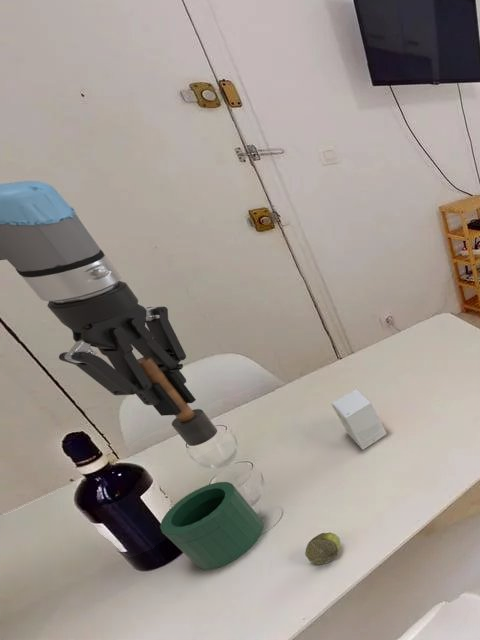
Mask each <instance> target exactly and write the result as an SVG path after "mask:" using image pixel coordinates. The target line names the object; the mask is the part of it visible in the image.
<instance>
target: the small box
mask: <svg viewBox="0 0 480 640" xmlns="http://www.w3.org/2000/svg"><path fill="white" fill-rule="evenodd" d="M330 405H331V406H332V408H333V410H334V411H335V413H336V415H337V417H338V419H339V420H340V422H341V424H342V426H343V427H344V429H345V431H346V433H347V435H348V436H349V437H350V438H351V439H352V441H354V442H355V443H356V445H358V447H359V448H360V450H363V451H364V450H365V449H366V448H368V447H370V446H371V445H373V444H374V443H376V442H378V441H379V440H381V439H382V438H383V437H385V436H386V435H387V434H388V433H387V431H386V429H385V427H384V425H383V423H382V421H381V419H380V416H379V414H378V413H377V411H376V409H375V407H374V404H373V403H372V401H370V399H368V398H367V397H366V396H365V395H364V394H363V393H362V392H361V391H360V390H358V389H354V390H352V391H350V392H349V393H347V394H344V395H343V396H342V397H340V398H338V399H336V400H334V401H332V402H331V404H330Z"/></svg>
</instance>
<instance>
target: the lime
mask: <svg viewBox="0 0 480 640" xmlns="http://www.w3.org/2000/svg"><path fill="white" fill-rule="evenodd" d="M340 549H341V539H340V537H339V536H338V535H337V534H336V533H334V532H333V533H332V532H321V533H320V534H317V535H316V536H314V537H313V538H312V539H311V540H309V542H308V543H307V545H306V548H305V551H304V554H305V557H306V558H307V559H308V561H309V562H311V563H312V564H316V565H323V564H326V563H330V561H332V560H333V559H334V558H336V557H337V556H338V554H339V552H340Z"/></svg>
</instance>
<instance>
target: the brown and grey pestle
mask: <svg viewBox="0 0 480 640" xmlns="http://www.w3.org/2000/svg"><path fill="white" fill-rule="evenodd" d="M136 359H137V358H136ZM137 361H138V362H139V364H140V365H141V367H142V369H143V370H144V372H145V373H146V375H147V377H148V378H149V380H150V382H151V383H160V385H161V386H162V387H163V388H164V390H165V391H166V392H167V394H168V395H169V396H170V397H171V399H172V400H173V401H174V402H175V404H176V405H177V406H178V407H179V409H180V410H181V411H182V412H181V413H179V414H178V415H174V417H175V418H174V419H173V420H172V421H171V426H172V427H173V429H174V431H176V432H177V434H178V435H179V436H180V437H181V438H182V440H183V441H184V442H185V443H186V445H188V447H189V446H190V447H196V446H199V445H202V444H204V443H207V442H208V441H210V440H212V439H213V438H214V437H215V436H216V435H217V433H218V429H217V427H216V426H215V424H214V423H213V422H212V420H210V418H209V417H208V415H207V413H206V412H204V410H203V409H201V408H193V409H192V408H191V407H190V405H189V403H186V402H185V400H184V399H183V398H182V397H181V395H180V394H179V393H178V391H177V390H176V389H175V388H174V386H173V385H172V384H171V382H170V381H169V380H168V379H167V377H166V376H165V375H164V373H163V372H162V371H161V370H160V368H159V367H158V366H157V364H156V363H155V362H154V361H153V359H152V358H151V357H150V356H146V357H143V356H142V357H140V358H138V359H137Z"/></svg>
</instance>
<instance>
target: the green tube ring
mask: <svg viewBox="0 0 480 640" xmlns="http://www.w3.org/2000/svg"><path fill="white" fill-rule="evenodd" d="M159 528H160V531H161V533H162V534H163V535H164V536H165V537H166V538H167V539H168V540H169V541H171V543H173V544H174V546H176V547H177V549H178V550H179V551H181V552H182V553H183V554H184V555H185V556H186V557H187V558H188V559H189V560H190V561H191V562H192V563H193V564H194V565H196V566H197V567H199V568H200V569H201V570H207V571H208V570H209V571H210V570H216V569H219V568H221V567H224V566H226V565H228V564H230V563H233V562H234V561H236V560H237V559H239V558H240V557H242V555H245V553H247V552H248V551H249V550H250V549H251V548H252V547H253V546H254V545H255V543H256V542H257V541H258V540H259V538H260V536H261V535H262V532H263V529H264V522H263V520H262V519H261V518H260V515H258V514H257V512H256V511H255V510H254V509H253V507H252V506H251V505H250V504H249V503H248V501H247V500H246V499H245V498H244V496H243V495H242V494H241V492H240V491H239V490H238V489H237V488H236V487H235V485H234V484H233V483H232V482H228V481H216V482H213V483H210V484H207V485H204V486H202V487H199V488H198V489H195V490H193V491H192V492H189V494H187V495H186V496H184V497H183V498H181V499H180V500H179V501H177V502H176V503H175V504H174V505H173V506H172V507H171V508H169V510H168V511H167V512H166V514H165V515H164V516H163V518H162V519H161V522H160V525H159Z"/></svg>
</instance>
